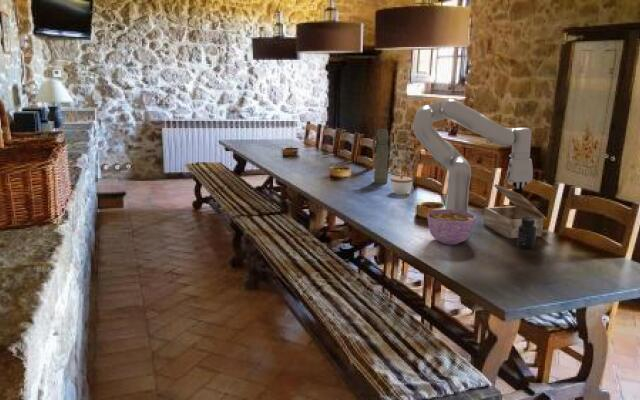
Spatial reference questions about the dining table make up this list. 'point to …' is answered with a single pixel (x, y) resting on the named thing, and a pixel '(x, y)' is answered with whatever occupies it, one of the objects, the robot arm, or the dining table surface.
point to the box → (510, 220)
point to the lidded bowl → (401, 184)
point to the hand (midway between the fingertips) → (518, 196)
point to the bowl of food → (450, 225)
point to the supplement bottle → (527, 234)
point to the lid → (519, 201)
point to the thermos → (381, 156)
